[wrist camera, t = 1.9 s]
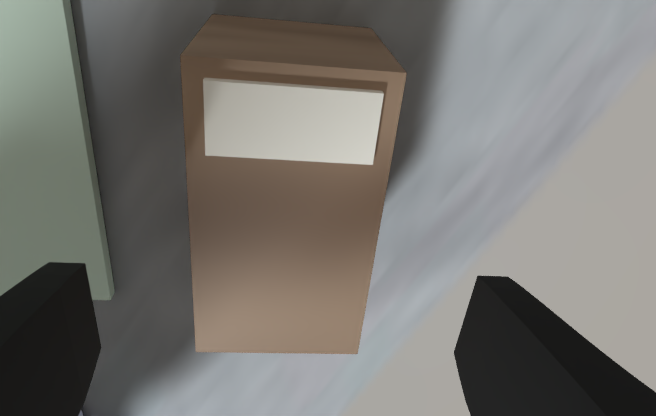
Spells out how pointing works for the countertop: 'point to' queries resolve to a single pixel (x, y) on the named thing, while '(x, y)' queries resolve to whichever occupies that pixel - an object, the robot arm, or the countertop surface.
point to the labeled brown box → (285, 180)
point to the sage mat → (46, 150)
